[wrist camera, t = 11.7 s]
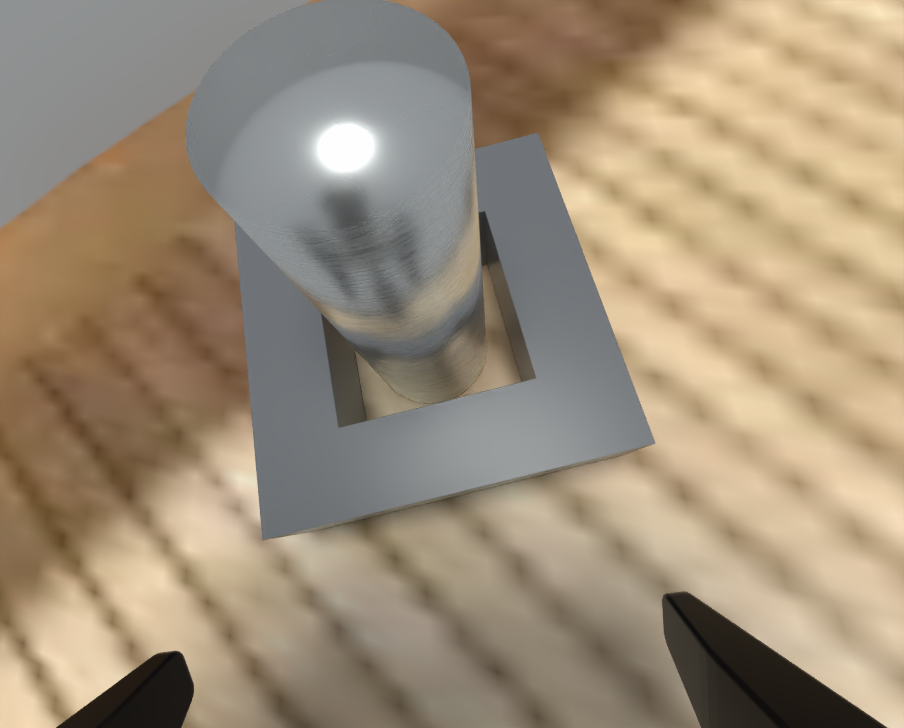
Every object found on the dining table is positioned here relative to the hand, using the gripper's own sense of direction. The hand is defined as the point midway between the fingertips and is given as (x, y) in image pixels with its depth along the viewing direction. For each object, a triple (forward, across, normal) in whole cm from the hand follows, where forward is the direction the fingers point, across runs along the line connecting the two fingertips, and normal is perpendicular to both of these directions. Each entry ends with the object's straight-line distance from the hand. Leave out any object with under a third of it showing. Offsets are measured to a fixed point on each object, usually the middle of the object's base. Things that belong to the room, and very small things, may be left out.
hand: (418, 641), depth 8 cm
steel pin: (+13, 0, -3) cm, 13 cm away
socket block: (+13, 0, -3) cm, 13 cm away
